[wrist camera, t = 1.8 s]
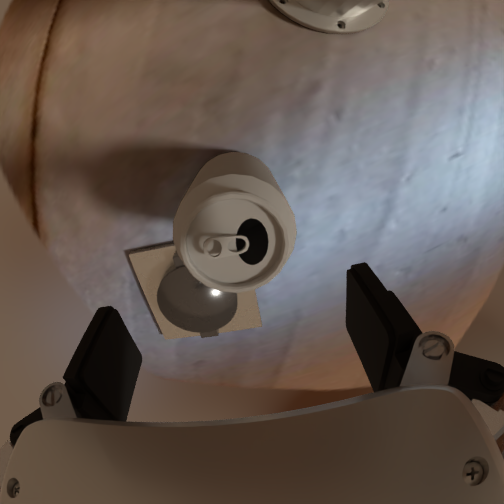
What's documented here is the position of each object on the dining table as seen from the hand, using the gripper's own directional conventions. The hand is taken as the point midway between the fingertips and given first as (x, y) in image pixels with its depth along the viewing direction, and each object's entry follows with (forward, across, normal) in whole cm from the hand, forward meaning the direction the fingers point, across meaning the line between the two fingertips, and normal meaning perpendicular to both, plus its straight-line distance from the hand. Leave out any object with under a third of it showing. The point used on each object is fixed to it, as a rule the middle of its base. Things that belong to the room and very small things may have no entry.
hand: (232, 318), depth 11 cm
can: (+18, 0, 0) cm, 18 cm away
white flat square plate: (+18, +6, +10) cm, 21 cm away
